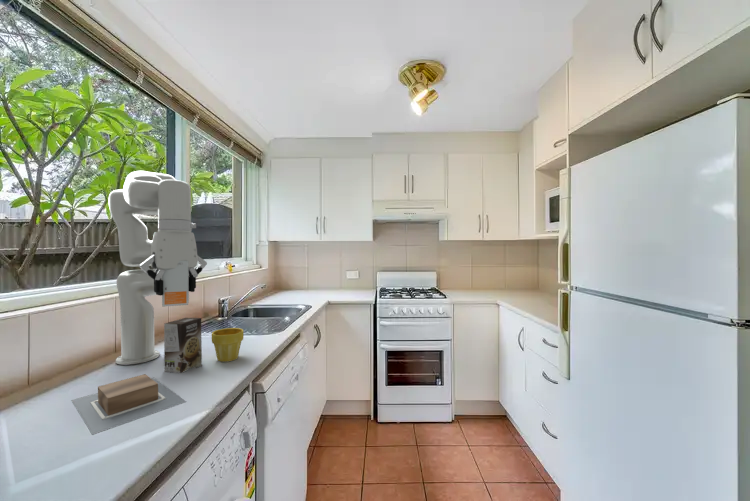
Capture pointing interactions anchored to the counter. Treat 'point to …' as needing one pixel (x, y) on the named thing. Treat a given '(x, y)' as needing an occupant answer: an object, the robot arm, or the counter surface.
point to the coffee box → (182, 345)
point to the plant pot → (227, 343)
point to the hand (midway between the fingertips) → (175, 292)
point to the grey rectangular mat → (101, 421)
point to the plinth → (127, 394)
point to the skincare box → (176, 285)
